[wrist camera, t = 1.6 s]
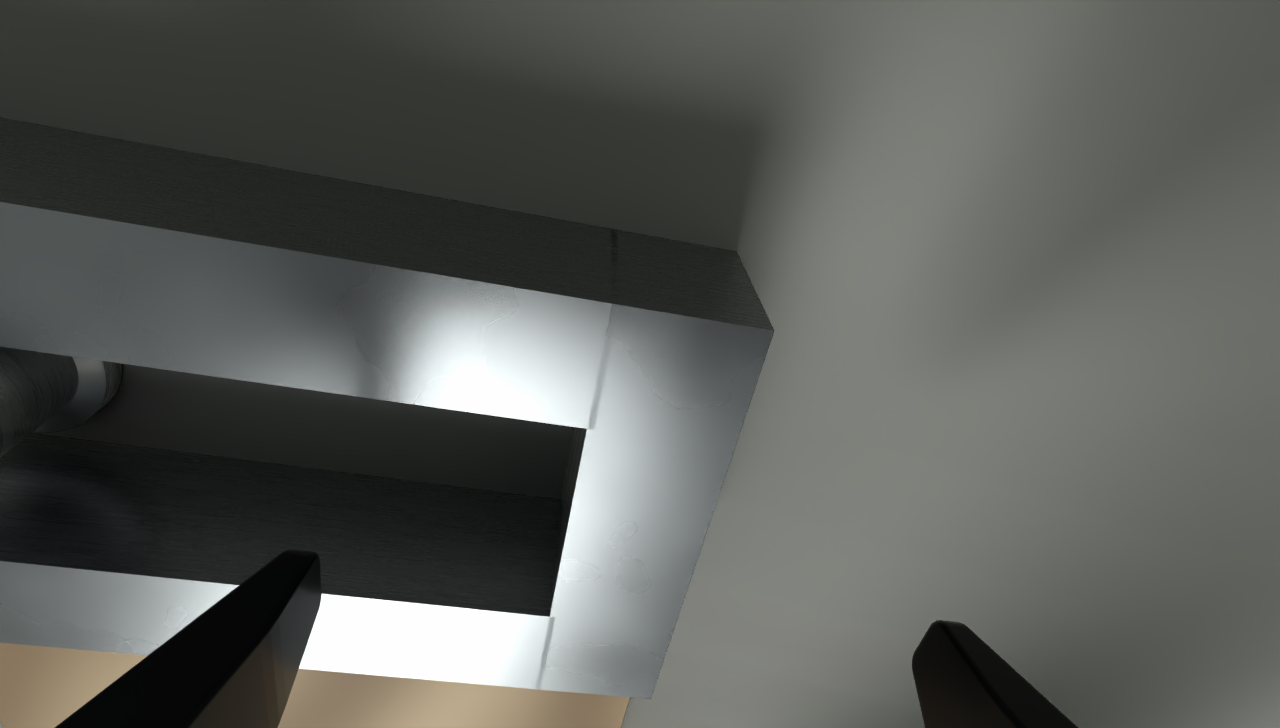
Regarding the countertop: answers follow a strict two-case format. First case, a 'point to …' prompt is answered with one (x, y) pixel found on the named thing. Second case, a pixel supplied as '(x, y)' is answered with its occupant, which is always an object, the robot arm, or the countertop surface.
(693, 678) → the countertop surface
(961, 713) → the robot arm
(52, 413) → the post
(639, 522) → the metal u-shaped bracket
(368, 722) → the mat
